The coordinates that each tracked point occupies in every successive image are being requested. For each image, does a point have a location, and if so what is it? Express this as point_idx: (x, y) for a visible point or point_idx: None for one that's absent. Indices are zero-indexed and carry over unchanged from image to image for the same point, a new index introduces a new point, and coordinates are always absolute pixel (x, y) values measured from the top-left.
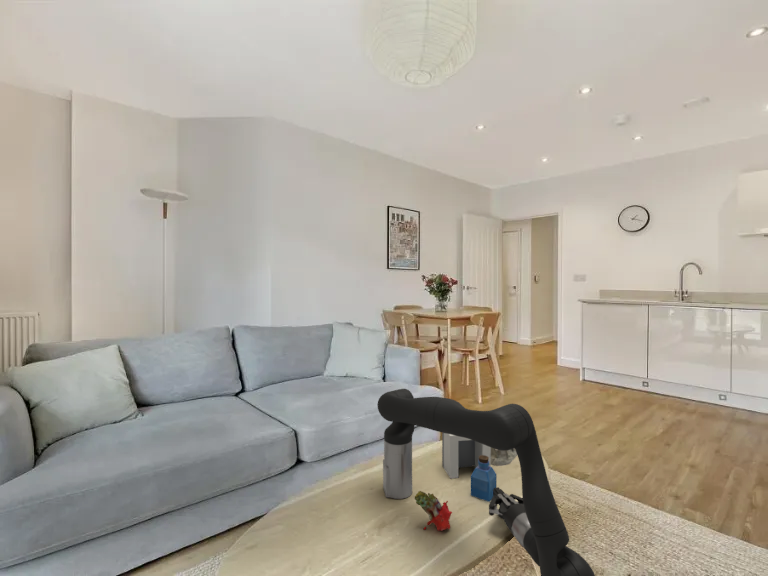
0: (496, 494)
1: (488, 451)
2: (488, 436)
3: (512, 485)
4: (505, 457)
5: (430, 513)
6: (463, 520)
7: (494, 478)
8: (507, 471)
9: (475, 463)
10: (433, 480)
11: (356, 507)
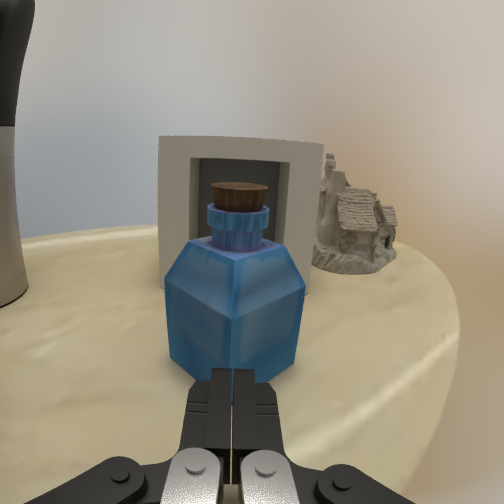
0: (185, 437)
1: (309, 212)
2: None
3: (371, 334)
4: (367, 254)
5: None
6: (15, 463)
7: (287, 303)
8: (364, 289)
9: None
10: (106, 285)
11: None
